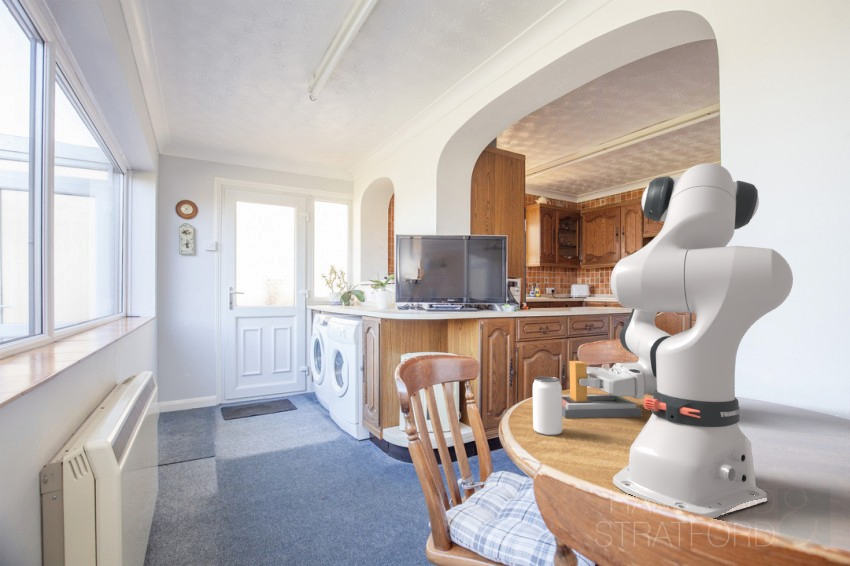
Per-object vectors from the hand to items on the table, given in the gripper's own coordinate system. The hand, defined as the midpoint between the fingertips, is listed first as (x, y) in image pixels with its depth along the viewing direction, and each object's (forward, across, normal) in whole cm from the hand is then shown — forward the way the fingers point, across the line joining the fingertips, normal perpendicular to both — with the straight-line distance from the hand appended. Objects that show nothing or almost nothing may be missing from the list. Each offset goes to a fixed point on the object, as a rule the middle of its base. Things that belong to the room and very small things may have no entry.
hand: (574, 379), depth 107 cm
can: (+13, +15, +9) cm, 22 cm away
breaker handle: (-1, 0, +6) cm, 6 cm away
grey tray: (-5, 0, +8) cm, 10 cm away
